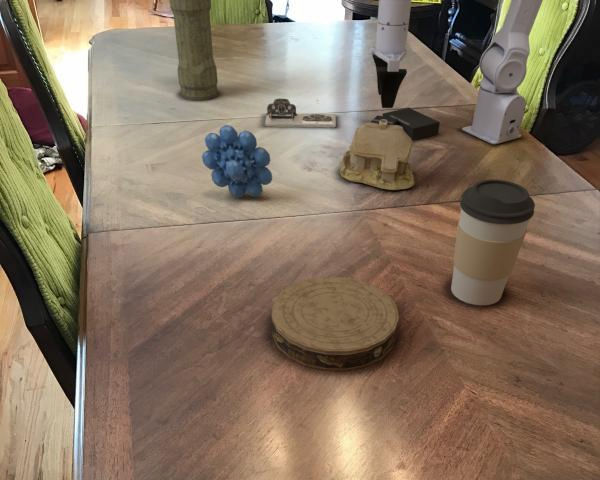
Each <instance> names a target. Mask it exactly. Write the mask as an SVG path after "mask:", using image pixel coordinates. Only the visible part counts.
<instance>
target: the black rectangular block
mask: <svg viewBox="0 0 600 480" xmlns="http://www.w3.org/2000/svg"><path fill="white" fill-rule="evenodd" d="M381 119H386V120H387V124H388V125H397V123H398V119H397V118H391V117H384V116H383V115H376V116H375V117H374V118H373V119H372V120H371V121H370V122H369V123H377V124H379V122H380V120H381Z"/></svg>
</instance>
